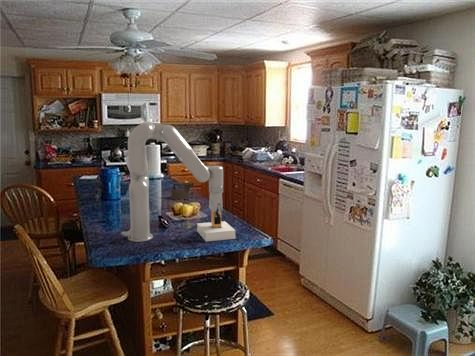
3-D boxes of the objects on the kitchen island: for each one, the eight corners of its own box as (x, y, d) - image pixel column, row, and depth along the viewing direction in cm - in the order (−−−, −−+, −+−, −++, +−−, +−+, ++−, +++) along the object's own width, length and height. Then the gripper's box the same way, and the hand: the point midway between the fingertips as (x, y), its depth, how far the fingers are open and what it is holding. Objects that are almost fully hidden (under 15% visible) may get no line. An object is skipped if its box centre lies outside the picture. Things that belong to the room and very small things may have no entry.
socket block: (205, 241, 204) (205, 233, 203) (197, 231, 221) (197, 223, 220) (235, 238, 209) (235, 230, 209) (224, 228, 226) (224, 221, 225)
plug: (213, 228, 212) (213, 210, 210) (211, 226, 215) (211, 208, 214) (221, 228, 213) (221, 209, 211) (219, 226, 217) (219, 208, 215)
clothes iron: (190, 201, 292) (190, 183, 289) (170, 199, 296) (170, 181, 294) (195, 199, 299) (194, 181, 297) (175, 197, 304) (175, 179, 302)
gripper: (205, 186, 217) (205, 219, 220) (213, 192, 202) (213, 227, 205) (218, 185, 220) (218, 218, 223) (227, 192, 204) (227, 226, 207)
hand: (216, 222), depth 214 cm, fingers closed on plug, 4 cm apart
